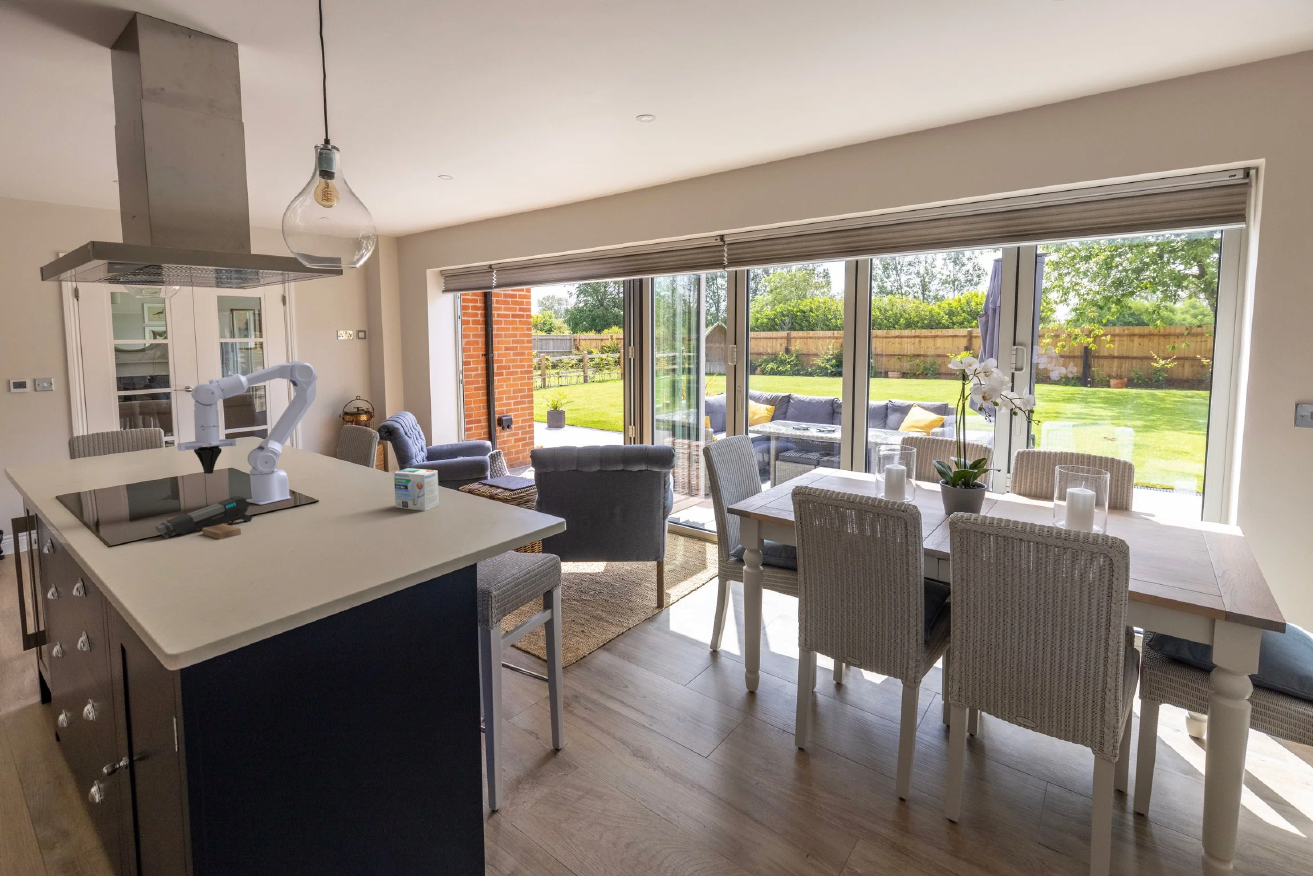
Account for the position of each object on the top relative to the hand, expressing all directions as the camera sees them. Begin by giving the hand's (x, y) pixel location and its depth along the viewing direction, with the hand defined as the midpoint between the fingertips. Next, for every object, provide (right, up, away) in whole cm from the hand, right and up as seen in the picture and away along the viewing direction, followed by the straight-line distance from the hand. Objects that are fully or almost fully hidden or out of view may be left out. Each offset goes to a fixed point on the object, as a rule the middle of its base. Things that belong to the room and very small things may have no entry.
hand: (208, 473), depth 191 cm
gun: (+12, -14, -18) cm, 25 cm away
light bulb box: (+58, -10, +6) cm, 59 cm away
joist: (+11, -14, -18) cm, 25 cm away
